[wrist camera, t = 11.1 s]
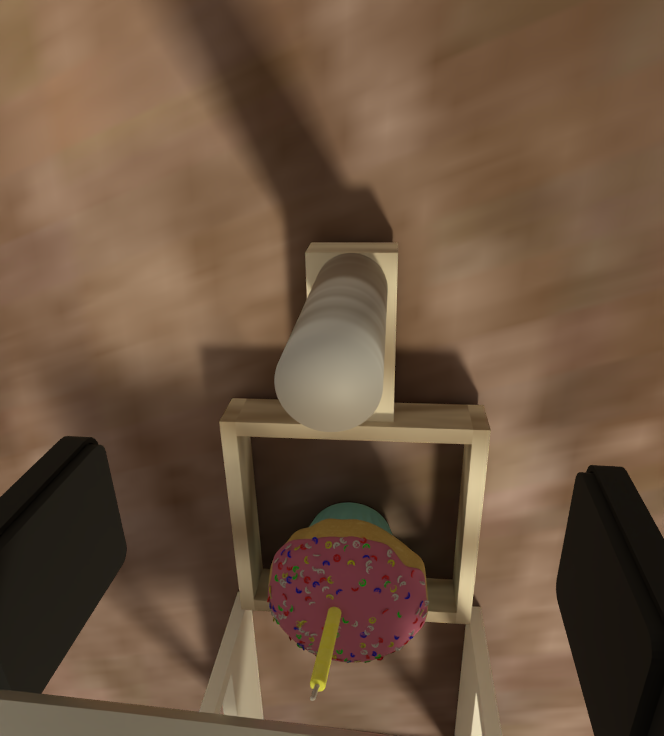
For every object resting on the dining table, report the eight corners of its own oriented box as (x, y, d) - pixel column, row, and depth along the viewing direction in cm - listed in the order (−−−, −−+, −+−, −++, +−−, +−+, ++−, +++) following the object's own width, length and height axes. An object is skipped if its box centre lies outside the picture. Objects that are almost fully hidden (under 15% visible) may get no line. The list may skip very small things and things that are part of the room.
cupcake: (257, 499, 34) (192, 685, 23) (392, 455, 32) (389, 637, 21) (319, 602, 37) (288, 809, 26) (447, 568, 35) (470, 779, 24)
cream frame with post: (215, 242, 28) (104, 330, 17) (499, 242, 26) (567, 337, 16) (251, 577, 36) (191, 772, 26) (465, 590, 35) (494, 801, 24)
